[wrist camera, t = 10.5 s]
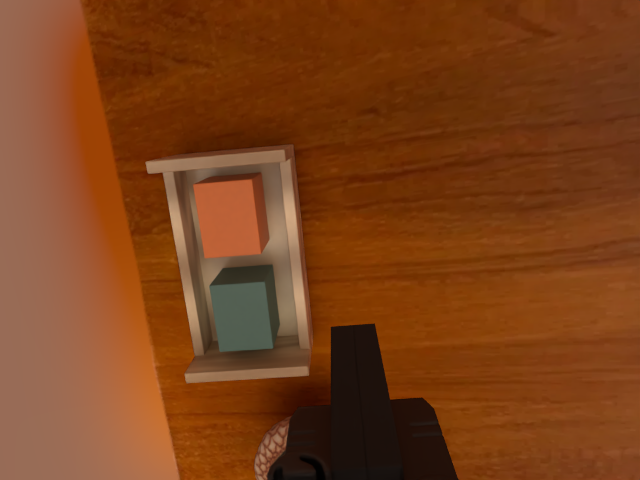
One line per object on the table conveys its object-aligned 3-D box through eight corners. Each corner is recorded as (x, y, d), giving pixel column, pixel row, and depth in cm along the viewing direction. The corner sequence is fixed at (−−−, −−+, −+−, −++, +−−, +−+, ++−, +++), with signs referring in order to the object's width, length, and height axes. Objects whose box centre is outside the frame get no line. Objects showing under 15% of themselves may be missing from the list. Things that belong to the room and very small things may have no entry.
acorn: (254, 437, 41) (229, 535, 32) (285, 361, 39) (268, 440, 30) (340, 467, 42) (340, 572, 32) (375, 393, 40) (386, 481, 30)
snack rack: (176, 154, 35) (145, 161, 29) (293, 144, 35) (284, 149, 29) (208, 344, 39) (185, 383, 33) (313, 337, 39) (309, 376, 33)
